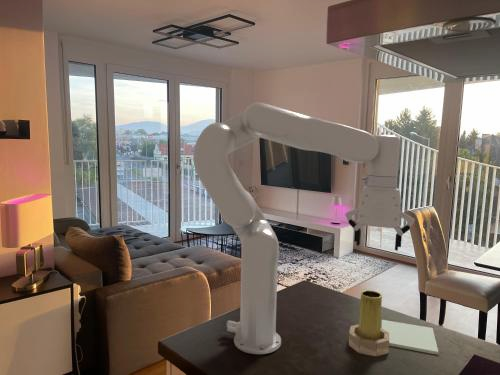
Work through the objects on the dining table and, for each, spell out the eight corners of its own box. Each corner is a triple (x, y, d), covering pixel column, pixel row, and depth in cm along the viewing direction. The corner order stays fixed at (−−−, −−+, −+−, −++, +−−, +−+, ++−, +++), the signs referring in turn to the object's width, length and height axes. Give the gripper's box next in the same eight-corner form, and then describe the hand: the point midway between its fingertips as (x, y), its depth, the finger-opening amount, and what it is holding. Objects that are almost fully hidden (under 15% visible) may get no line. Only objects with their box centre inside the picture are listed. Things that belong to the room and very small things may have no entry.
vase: (377, 340, 103) (380, 290, 101) (383, 352, 97) (386, 299, 95) (354, 338, 103) (357, 289, 102) (359, 350, 97) (361, 297, 96)
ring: (347, 350, 97) (348, 337, 97) (351, 333, 106) (351, 321, 106) (388, 359, 93) (389, 345, 93) (388, 340, 103) (389, 328, 102)
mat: (380, 344, 101) (380, 341, 101) (381, 322, 114) (381, 319, 114) (438, 354, 96) (438, 351, 96) (432, 330, 109) (432, 328, 109)
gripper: (345, 181, 97) (341, 245, 99) (418, 186, 91) (412, 254, 93) (349, 179, 104) (345, 240, 106) (417, 184, 98) (411, 248, 99)
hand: (376, 246), depth 99 cm, fingers open, 9 cm apart
